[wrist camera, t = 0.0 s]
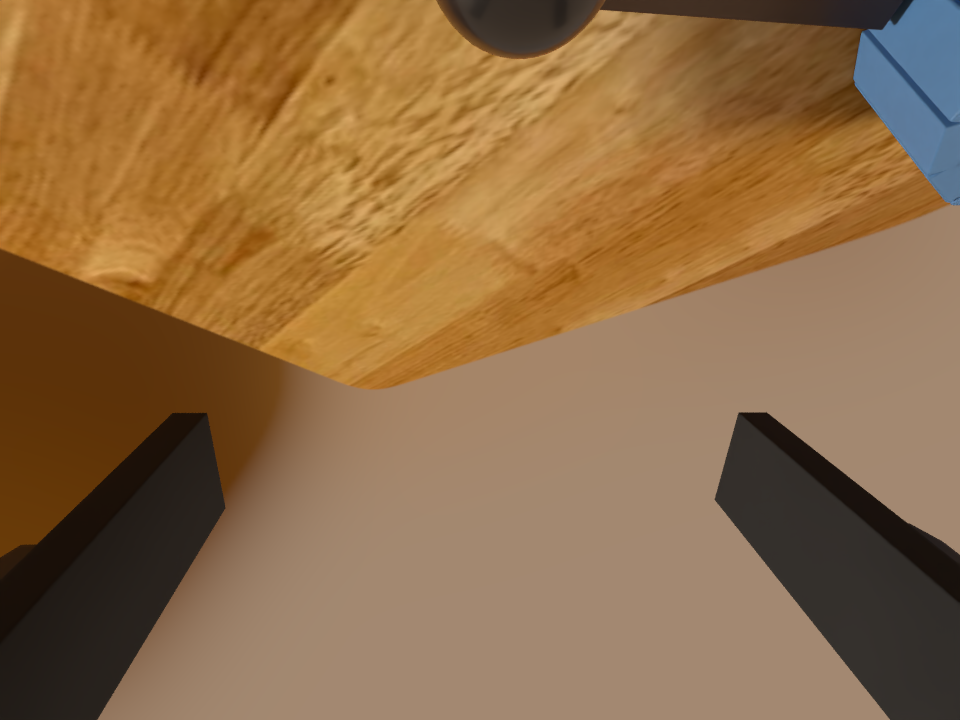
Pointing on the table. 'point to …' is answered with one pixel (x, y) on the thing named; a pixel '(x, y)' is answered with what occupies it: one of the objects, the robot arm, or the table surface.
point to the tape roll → (918, 86)
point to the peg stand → (574, 3)
